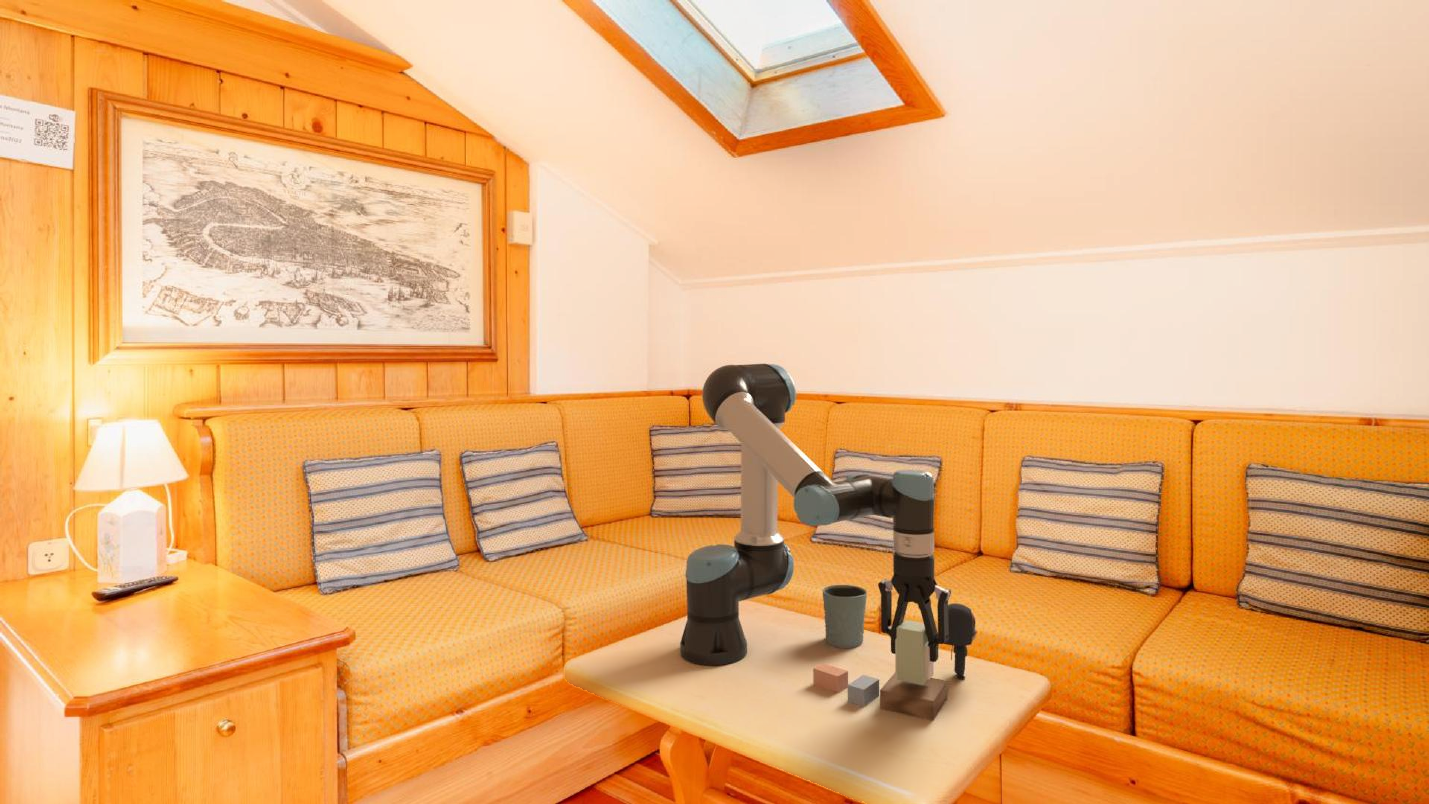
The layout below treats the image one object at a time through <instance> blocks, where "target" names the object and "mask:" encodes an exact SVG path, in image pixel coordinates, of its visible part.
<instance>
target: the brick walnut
mask: <svg viewBox="0 0 1429 804" xmlns="http://www.w3.org/2000/svg"><path fill="white" fill-rule="evenodd" d="M947 701H948V680H945V679H940V678H935V677H931V678H930V679H929V680H927V682H926V683H925V684H924V685H919V684H915V683H910V682H906V681H901V680H897V673H896V671H894V672H893V674H892V675H891V676H890V678H889V679H888V680H887V682H885V683H884V685H883V686H882V687H881V688H879V709H880V710H883V711H888V712H893V713H897V714H902V715H905V716H911V717H915V718H920V719H925V720H929V721H935V719H936V718H937V716H938V715H939V713H940V712H941V710H942V708H943V707H944V705H945V704H946V702H947Z"/></svg>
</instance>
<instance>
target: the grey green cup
mask: <svg viewBox="0 0 1429 804" xmlns="http://www.w3.org/2000/svg"><path fill="white" fill-rule="evenodd" d="M821 590H822V601H823V609H824V623H825V624H824V625H825V626H824V628H825V630H824V631H825V641H826V644H828V645H830V646H832V647H834V648H841V649H852V648H858V647H860V646H862V645H863V643H864V633H865V631H864V630H865V619H866V618H865V617H866V604H867V599H868V598H867V597H868V591H867V590H866V589H865V588H863V587H862V586H861V587H860V586H855V585H851V584H834V585H828V586H826V587H824V588H823V589H821Z"/></svg>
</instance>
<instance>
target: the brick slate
mask: <svg viewBox="0 0 1429 804" xmlns="http://www.w3.org/2000/svg"><path fill="white" fill-rule="evenodd" d="M878 697H880V679H879V678H878V677H877V678H876V677H872V676H869V675H866V674H862V675H860V676H859V677H857V678H856V679H854V680H853V681H851V682H850V683H848V688H847V703H850V704H853V705H857V706H860V707H863V708H864V707H866V706H867V705H870V703H872V702H873V701H874V700H875V699H877V698H878Z"/></svg>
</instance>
